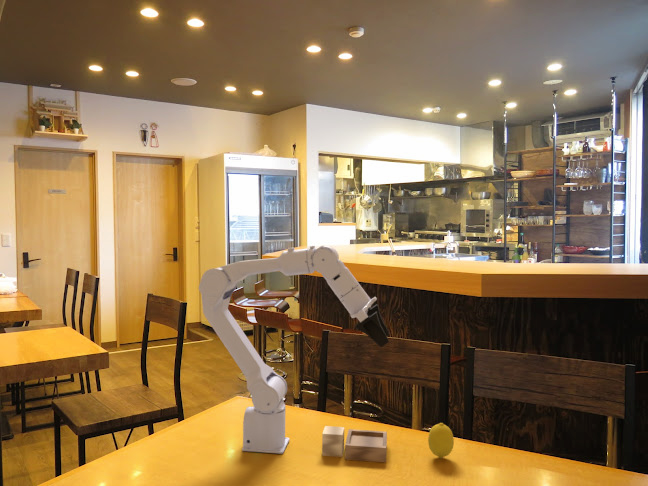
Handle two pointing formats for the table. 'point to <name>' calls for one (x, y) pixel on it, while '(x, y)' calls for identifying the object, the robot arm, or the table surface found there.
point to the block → (333, 441)
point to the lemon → (440, 440)
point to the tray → (366, 445)
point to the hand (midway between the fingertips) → (385, 340)
